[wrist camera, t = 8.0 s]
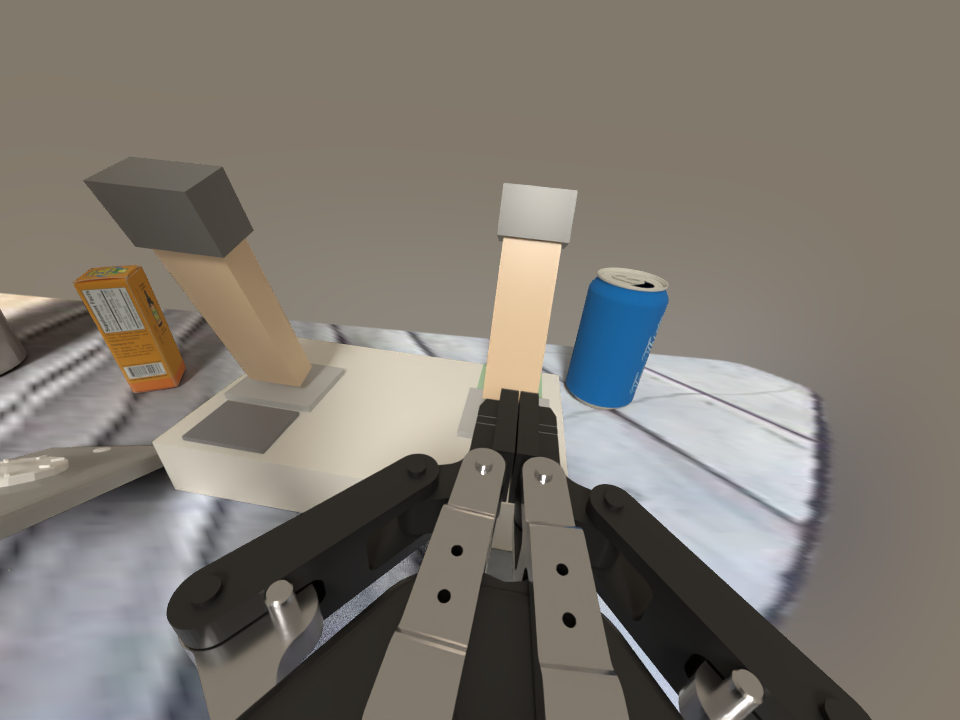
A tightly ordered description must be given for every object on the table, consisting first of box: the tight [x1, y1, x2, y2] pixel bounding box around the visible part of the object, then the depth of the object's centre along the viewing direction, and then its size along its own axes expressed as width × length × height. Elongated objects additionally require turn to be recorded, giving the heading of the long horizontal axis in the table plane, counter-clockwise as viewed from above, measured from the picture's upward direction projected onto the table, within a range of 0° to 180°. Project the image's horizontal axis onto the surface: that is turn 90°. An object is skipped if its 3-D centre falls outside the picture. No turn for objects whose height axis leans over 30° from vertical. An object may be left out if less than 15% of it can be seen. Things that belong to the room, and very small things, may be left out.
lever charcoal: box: [83, 157, 312, 387], centre depth 20 cm, size 2×4×14 cm, turn 81°
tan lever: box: [482, 183, 578, 402], centre depth 24 cm, size 2×4×14 cm, turn 83°
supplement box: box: [73, 265, 186, 393], centre depth 29 cm, size 3×3×10 cm
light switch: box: [0, 445, 164, 571], centre depth 18 cm, size 8×5×13 cm
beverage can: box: [566, 268, 668, 410], centre depth 33 cm, size 6×6×12 cm
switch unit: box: [152, 337, 568, 551], centre depth 27 cm, size 14×24×4 cm, turn 82°
